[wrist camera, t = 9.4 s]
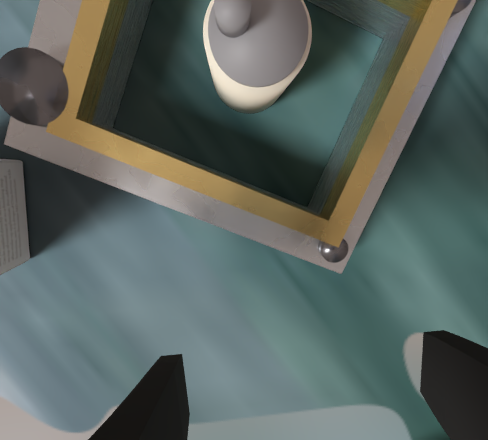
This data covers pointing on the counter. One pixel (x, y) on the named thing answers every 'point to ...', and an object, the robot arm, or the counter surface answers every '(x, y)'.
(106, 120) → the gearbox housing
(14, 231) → the skincare box
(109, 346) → the counter surface
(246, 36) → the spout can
